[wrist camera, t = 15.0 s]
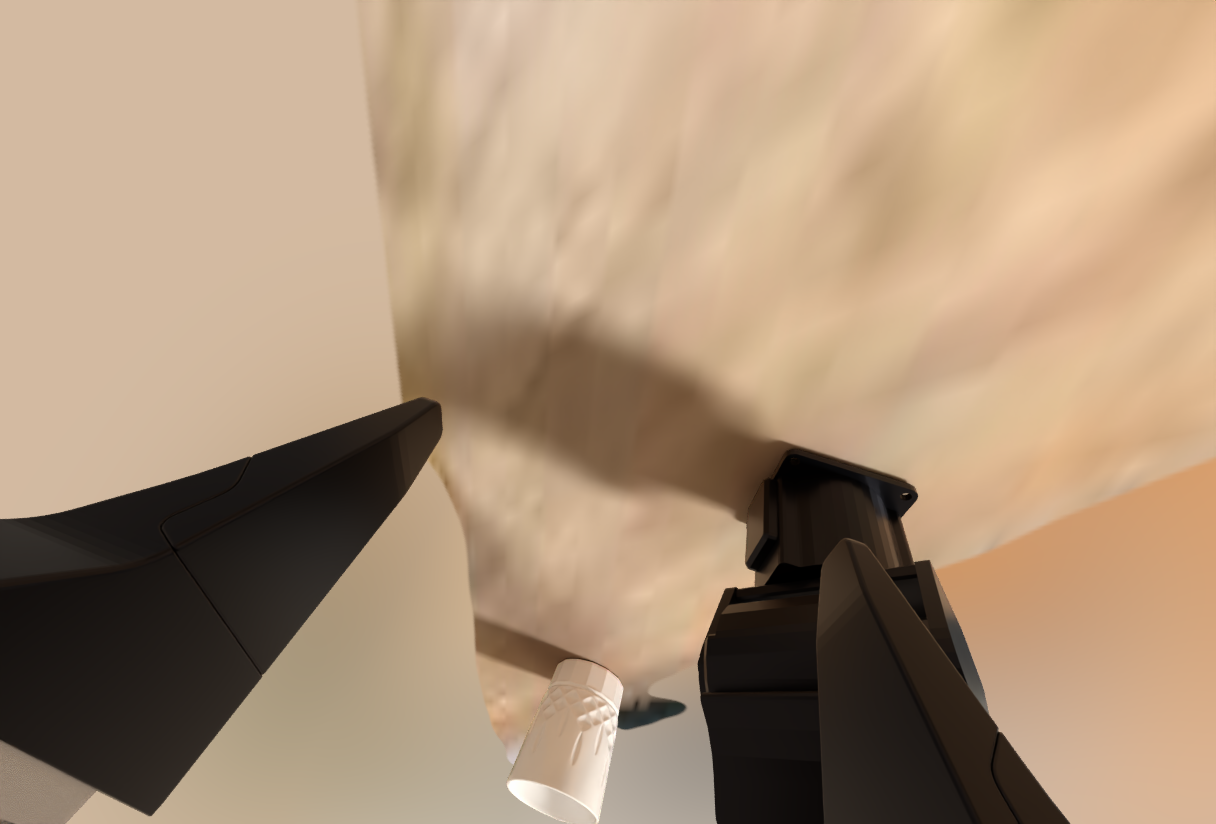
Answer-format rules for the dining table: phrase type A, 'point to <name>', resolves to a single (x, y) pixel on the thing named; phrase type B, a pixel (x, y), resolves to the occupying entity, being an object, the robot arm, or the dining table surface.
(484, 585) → the dining table surface
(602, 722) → the white cup
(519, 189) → the dining table surface
